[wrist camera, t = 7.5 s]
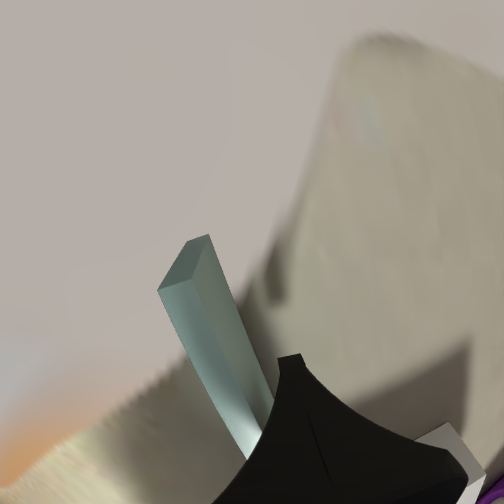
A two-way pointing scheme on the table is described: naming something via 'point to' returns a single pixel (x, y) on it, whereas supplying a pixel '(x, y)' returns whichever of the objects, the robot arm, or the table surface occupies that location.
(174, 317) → the side door
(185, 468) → the table surface
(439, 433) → the block
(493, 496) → the toy camera
